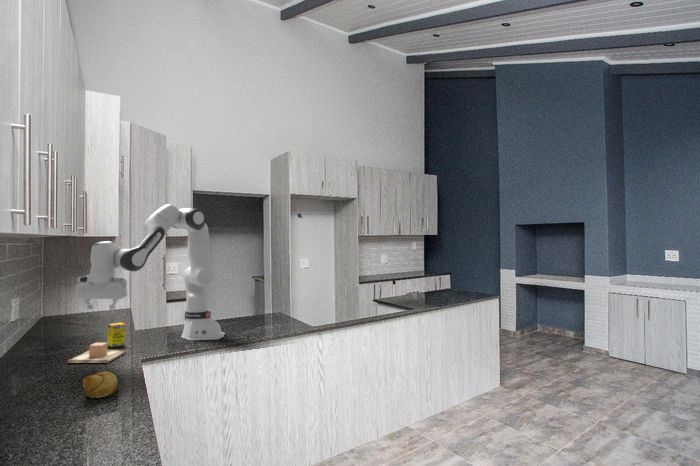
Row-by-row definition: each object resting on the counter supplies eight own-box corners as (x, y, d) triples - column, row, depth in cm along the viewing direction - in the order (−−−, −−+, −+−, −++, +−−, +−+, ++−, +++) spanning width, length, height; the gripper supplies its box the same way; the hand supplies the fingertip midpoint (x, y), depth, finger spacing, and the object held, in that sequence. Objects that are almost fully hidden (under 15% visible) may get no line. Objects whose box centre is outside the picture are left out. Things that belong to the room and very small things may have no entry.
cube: (107, 353, 175) (107, 342, 175) (101, 357, 170) (101, 345, 170) (95, 353, 174) (95, 342, 174) (89, 357, 169) (89, 345, 169)
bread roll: (91, 388, 138) (92, 365, 139) (122, 385, 142) (123, 363, 142) (79, 402, 126) (81, 377, 126) (113, 399, 129) (115, 375, 130)
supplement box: (111, 348, 188) (112, 325, 188) (106, 346, 191) (107, 323, 191) (124, 346, 192) (126, 323, 193) (119, 344, 196) (120, 322, 196)
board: (125, 353, 181) (125, 349, 181) (107, 363, 165) (107, 360, 165) (89, 352, 179) (89, 349, 179) (67, 363, 163) (67, 360, 163)
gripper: (129, 277, 177) (129, 307, 177) (81, 276, 175) (81, 307, 175) (123, 278, 171) (122, 310, 171) (73, 278, 169) (72, 310, 169)
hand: (101, 308), depth 173 cm, fingers open, 8 cm apart
